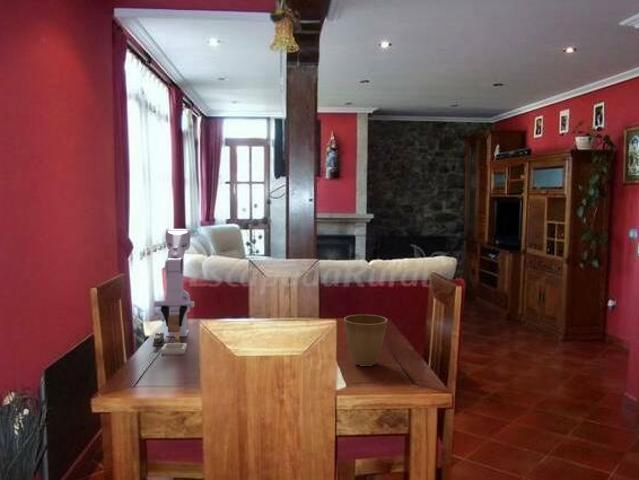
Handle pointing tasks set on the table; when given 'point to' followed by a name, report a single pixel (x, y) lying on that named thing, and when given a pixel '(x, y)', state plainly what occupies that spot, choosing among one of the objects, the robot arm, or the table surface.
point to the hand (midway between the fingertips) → (174, 326)
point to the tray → (174, 349)
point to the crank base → (165, 341)
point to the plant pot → (365, 337)
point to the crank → (159, 338)
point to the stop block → (173, 323)
